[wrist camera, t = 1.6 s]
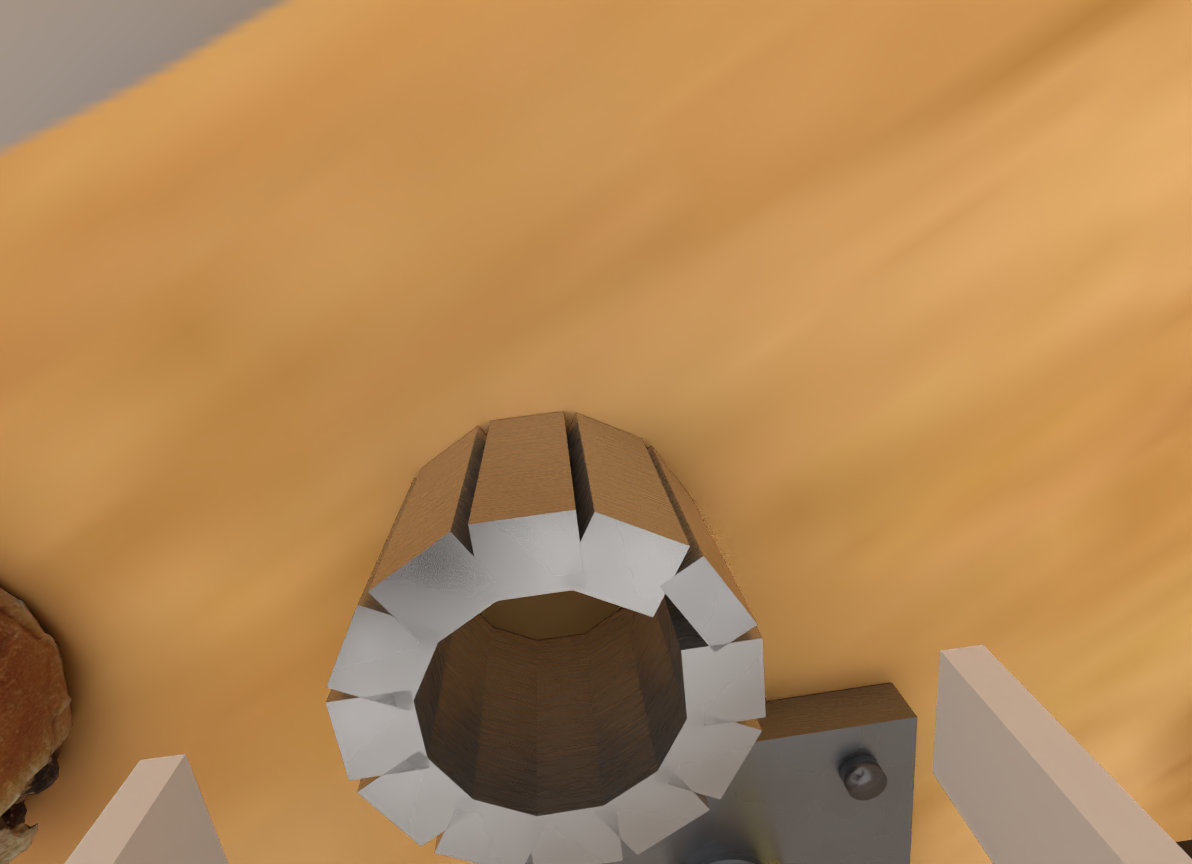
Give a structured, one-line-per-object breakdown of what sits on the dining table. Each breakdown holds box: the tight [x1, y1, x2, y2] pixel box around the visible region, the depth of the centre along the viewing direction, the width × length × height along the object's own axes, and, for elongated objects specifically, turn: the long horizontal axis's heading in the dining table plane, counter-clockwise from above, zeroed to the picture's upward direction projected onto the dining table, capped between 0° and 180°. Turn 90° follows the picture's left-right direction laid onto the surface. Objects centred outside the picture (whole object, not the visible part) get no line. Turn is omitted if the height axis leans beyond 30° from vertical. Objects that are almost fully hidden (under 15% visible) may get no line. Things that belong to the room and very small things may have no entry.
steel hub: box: [326, 411, 766, 864], centre depth 16 cm, size 8×8×6 cm
